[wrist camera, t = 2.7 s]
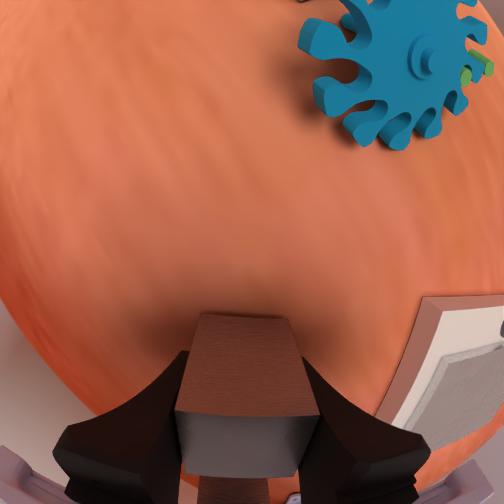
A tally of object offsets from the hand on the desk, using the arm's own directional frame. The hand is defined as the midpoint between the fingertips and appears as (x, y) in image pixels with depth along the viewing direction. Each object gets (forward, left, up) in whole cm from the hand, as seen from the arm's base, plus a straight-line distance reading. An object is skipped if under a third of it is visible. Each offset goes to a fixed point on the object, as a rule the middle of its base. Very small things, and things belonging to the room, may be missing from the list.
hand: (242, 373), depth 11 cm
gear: (+14, -6, -2) cm, 16 cm away
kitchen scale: (-4, -19, -2) cm, 20 cm away
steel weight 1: (0, 0, -2) cm, 2 cm away
